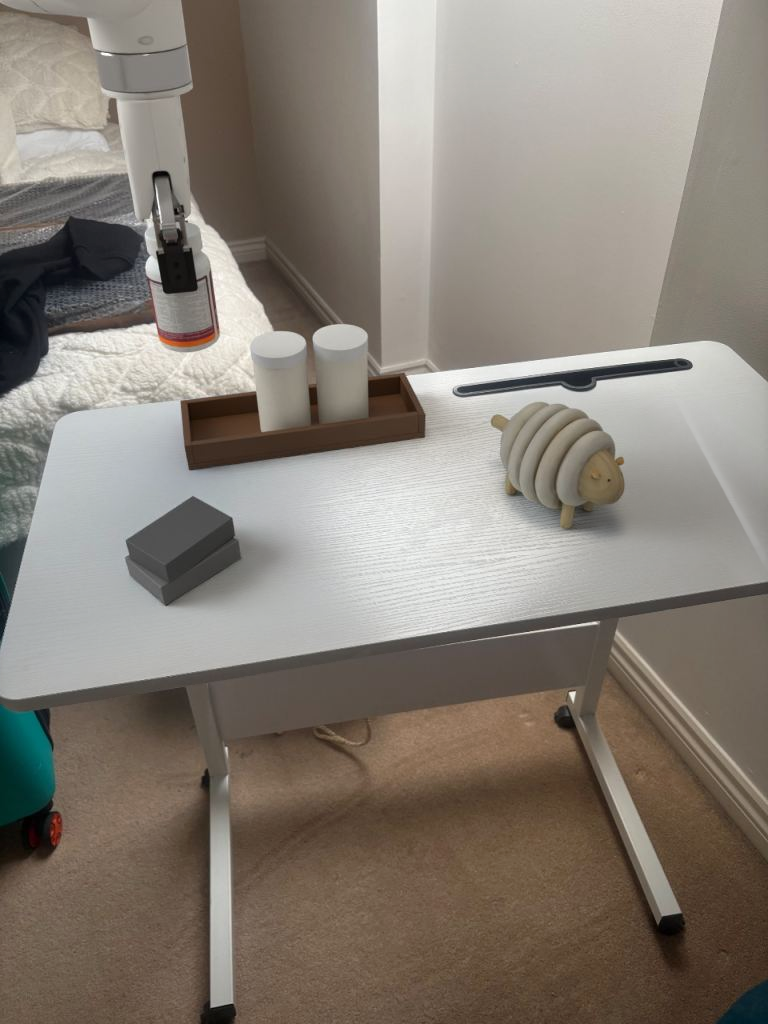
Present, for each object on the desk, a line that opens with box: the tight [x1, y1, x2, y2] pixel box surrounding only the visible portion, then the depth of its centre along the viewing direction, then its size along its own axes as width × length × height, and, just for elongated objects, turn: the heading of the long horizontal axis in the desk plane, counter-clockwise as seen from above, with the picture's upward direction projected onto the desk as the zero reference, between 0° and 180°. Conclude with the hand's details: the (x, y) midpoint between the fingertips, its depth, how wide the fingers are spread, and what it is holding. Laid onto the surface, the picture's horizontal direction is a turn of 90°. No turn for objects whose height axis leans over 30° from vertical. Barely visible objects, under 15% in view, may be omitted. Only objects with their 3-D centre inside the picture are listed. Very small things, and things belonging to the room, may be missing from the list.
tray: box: [179, 372, 426, 471], centre depth 99 cm, size 28×10×3 cm, turn 103°
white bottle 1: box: [249, 330, 311, 432], centre depth 95 cm, size 6×6×11 cm
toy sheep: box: [490, 401, 626, 530], centre depth 86 cm, size 11×17×11 cm, turn 46°
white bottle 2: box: [312, 323, 369, 424], centre depth 96 cm, size 6×6×11 cm
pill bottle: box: [144, 221, 221, 353], centre depth 81 cm, size 6×6×11 cm
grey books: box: [124, 495, 242, 606], centre depth 80 cm, size 9×6×5 cm
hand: (179, 274), depth 80 cm, fingers closed on pill bottle, 6 cm apart
